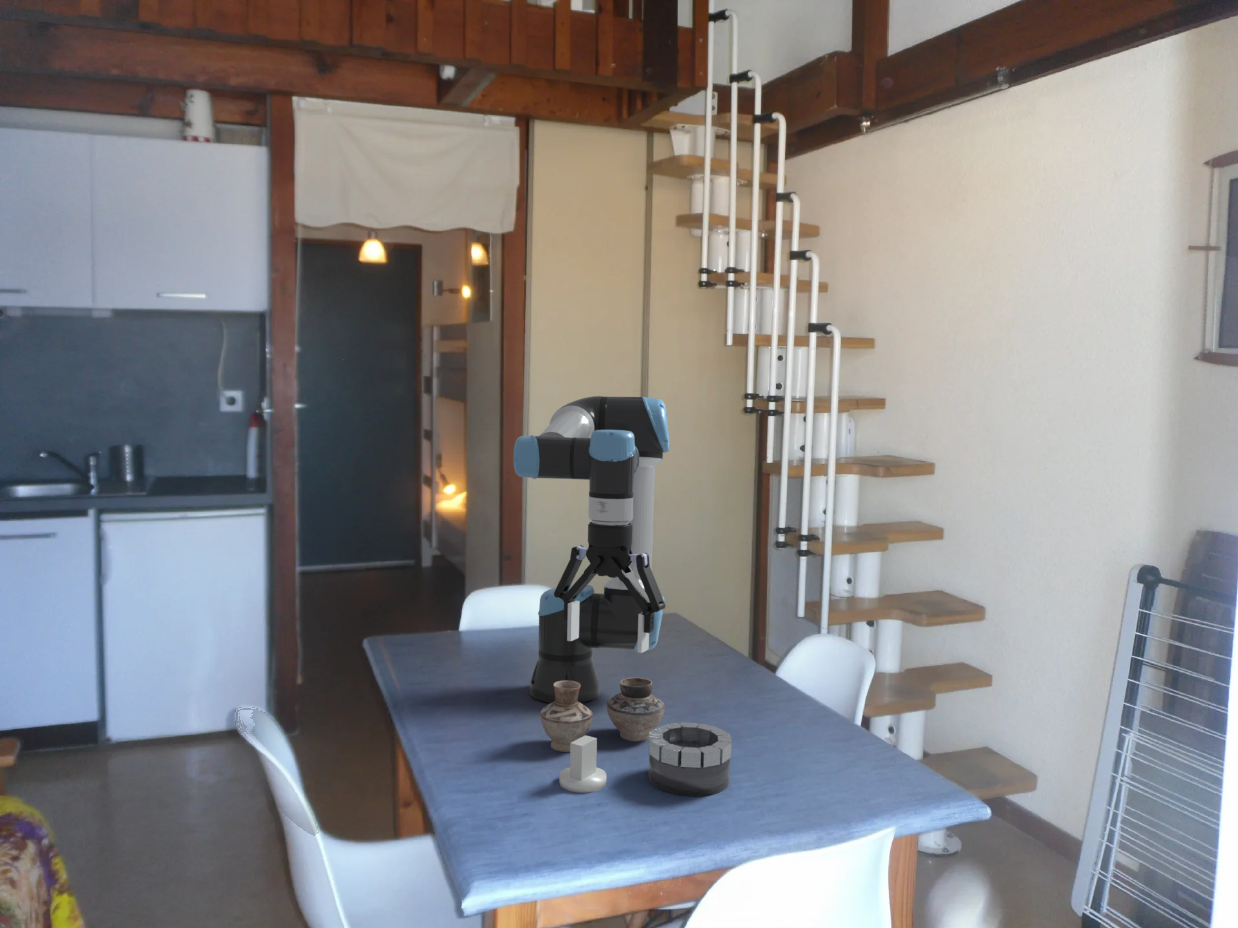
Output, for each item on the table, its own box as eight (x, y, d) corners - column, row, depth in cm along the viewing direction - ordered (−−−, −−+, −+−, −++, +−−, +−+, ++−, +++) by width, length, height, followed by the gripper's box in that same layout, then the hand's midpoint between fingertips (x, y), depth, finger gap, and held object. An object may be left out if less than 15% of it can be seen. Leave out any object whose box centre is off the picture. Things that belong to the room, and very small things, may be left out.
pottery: (530, 740, 190) (531, 678, 188) (647, 722, 201) (648, 664, 199) (553, 761, 179) (554, 697, 178) (674, 741, 191) (676, 680, 189)
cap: (549, 785, 169) (550, 742, 169) (577, 769, 176) (578, 728, 175) (588, 797, 165) (589, 753, 164) (615, 780, 172) (616, 738, 171)
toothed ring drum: (632, 782, 171) (633, 740, 170) (673, 756, 183) (675, 716, 182) (705, 803, 163) (707, 759, 163) (743, 775, 175) (745, 733, 175)
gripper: (535, 517, 171) (533, 639, 173) (667, 531, 160) (664, 661, 162) (558, 512, 178) (556, 629, 180) (687, 525, 166) (683, 650, 168)
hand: (607, 645), depth 171 cm, fingers open, 13 cm apart
